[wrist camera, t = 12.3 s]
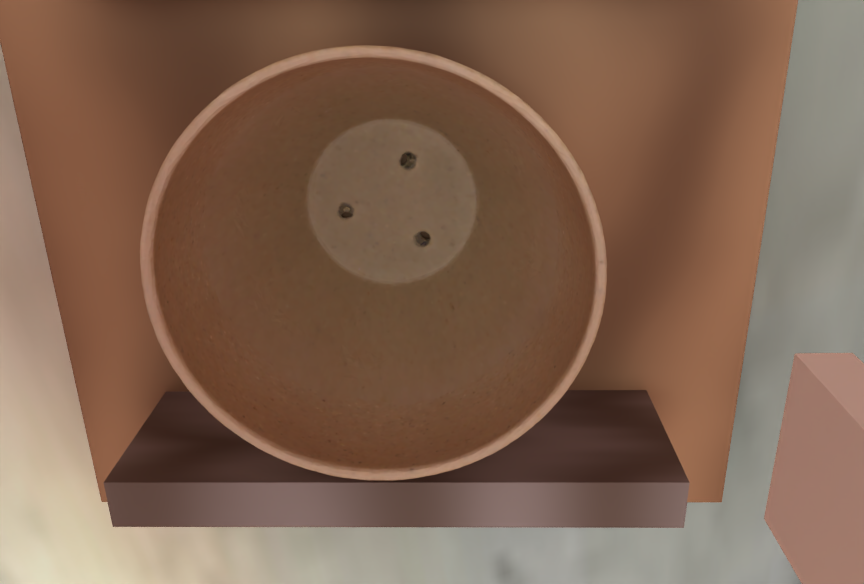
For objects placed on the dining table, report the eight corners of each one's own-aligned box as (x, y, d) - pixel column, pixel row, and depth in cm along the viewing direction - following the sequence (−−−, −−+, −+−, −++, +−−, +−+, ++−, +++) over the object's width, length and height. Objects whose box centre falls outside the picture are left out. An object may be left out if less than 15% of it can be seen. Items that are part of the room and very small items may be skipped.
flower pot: (420, 403, 26) (409, 551, 19) (166, 220, 24) (54, 316, 17) (633, 177, 23) (708, 261, 16) (364, -58, 20) (322, -73, 14)
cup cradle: (115, 481, 29) (31, 607, 23) (-30, -210, 20) (-219, -282, 15) (710, 481, 28) (777, 611, 22) (814, -233, 20) (961, -318, 14)
